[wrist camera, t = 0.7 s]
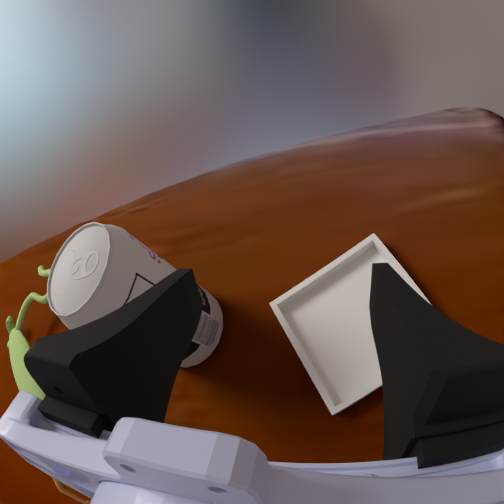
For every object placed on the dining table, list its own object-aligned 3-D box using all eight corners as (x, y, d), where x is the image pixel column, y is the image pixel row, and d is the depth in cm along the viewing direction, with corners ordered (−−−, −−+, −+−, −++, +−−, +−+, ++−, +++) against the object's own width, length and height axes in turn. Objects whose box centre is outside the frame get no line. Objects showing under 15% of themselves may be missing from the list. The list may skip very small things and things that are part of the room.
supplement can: (157, 371, 31) (35, 329, 18) (160, 298, 35) (56, 232, 23) (227, 365, 28) (106, 318, 16) (225, 283, 32) (125, 199, 20)
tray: (447, 336, 22) (451, 332, 20) (335, 414, 22) (332, 415, 21) (374, 241, 28) (373, 233, 27) (275, 308, 29) (269, 303, 28)
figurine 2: (72, 263, 46) (47, 247, 41) (107, 422, 30) (70, 417, 26) (18, 320, 47) (-6, 309, 42) (39, 459, 31) (8, 455, 27)
